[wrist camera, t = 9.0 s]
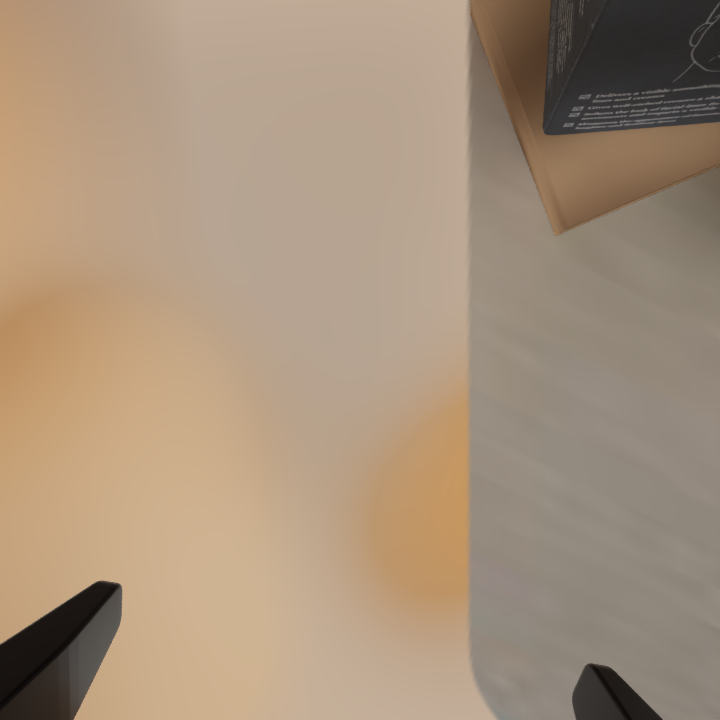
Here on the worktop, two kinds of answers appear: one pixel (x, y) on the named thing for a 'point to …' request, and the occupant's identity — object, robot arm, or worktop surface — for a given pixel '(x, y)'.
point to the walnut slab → (584, 150)
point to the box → (631, 65)
